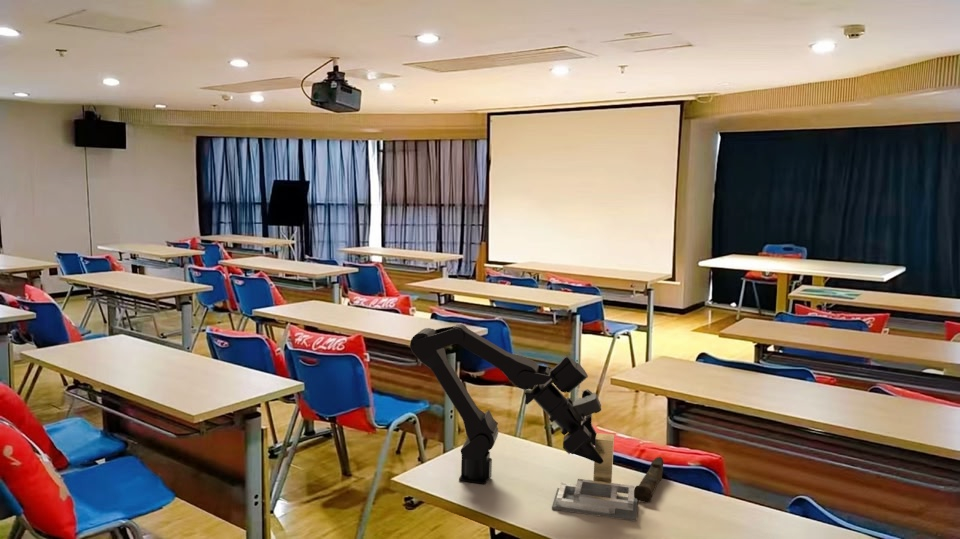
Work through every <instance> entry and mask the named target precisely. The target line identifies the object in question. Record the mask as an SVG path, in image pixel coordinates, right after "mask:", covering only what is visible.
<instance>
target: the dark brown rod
mask: <svg viewBox="0 0 960 539" xmlns="http://www.w3.org/2000/svg"><path fill="white" fill-rule="evenodd" d="M663 472H664V459H663V458H662V457H661V456H659V457H658V456H657V457H655V458H654V459H653V460H652V461H651V464H650V467H649V469H648V471H647V472H646V473H645V475H644V476H643V478H642V479H641V481H640V483H639V484H638V485H636V486H634V498H637V502H638V501H639V502H641V503H649V502H651V498H652V497H653V493H654V492H655V490H656V488H657V485H658V484H659V482H662V478H663Z"/></svg>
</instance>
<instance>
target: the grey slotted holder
mask: <svg viewBox="0 0 960 539" xmlns="http://www.w3.org/2000/svg"><path fill="white" fill-rule="evenodd" d="M558 488H559V492H558V495H557V498H556V507H563V508H570V509H577V510H585V511H592V512H599V513H606V514H613V515H615V508H618V509H626V510H633V505H634V489H635V485H629V484H621V483H616V482H612V483H608V482H600V481H593V480H592V479H585V478H584V479H583V478H577V480H576V484H575V483H574V484H572V483H567V482H566V483H565V482H561V483H560V486H559V487H558ZM565 492H570V493H574V498H573V500H571V499H564V496H565ZM618 493H620V494H626V495H627V497H628V500H621V499H616V498H617V496H618ZM583 494H585V495H583ZM591 495H592V496H591ZM598 496H600V497H598ZM606 497H607V498H606Z"/></svg>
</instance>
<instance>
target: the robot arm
mask: <svg viewBox="0 0 960 539" xmlns="http://www.w3.org/2000/svg"><path fill="white" fill-rule="evenodd" d="M409 343H410V344H409V348H410V350H411V352H412V354H413V355H414V356H415V357H416V358H417V359H418V360H419V361H420V362H421V364H423V365H425V367H427V368H429V369H430V370H431V372H432V373H433V374H434V376H435V378H436V380H437V381H438V382H439V384H440V386H441V388H442V390H444V392H445V394H446V395H447V397H448V399H449V400H450V401H451V403H452V405H453V406H454V408H455V410H456V411H457V413H458V415H459V416H460V417H461V419H462V422H463V424H464V425H463V426H464V430H465V432H466V436H467V438H466V440H465V441H464V444H463V445H462V447H461V449H460V454H461V466H460V468H461V470H460V476H459V478H458V481H460V482H467V483H475V484H479V485H481V484H482V485H485V484H486V483H487V481H488V480H489V479H490V478H491V476H492V471H493V470H492V469H493V459H492V458H491V456H490V455H491V454H490V453H491V452H490V450H492V449H493V447H494V445H495V443H496V441H497V439H498V435H499V428H498V425H499V422H498V421H496V420H495V419H494V417H493V414H492V412H491V410H489V409H488V410H486V411H485V412H484V411H482V410H481V409H480V408H479V407H478V406H477V404H476V402H475V401H474V399H473V398H472V395H471V394H470V393H469V392H468V390H467V388H466V387H465V385H464V383H463V382H462V380H461V379H460V377H459V376H458V374H457V373H456V371H455V370H454V367H453V366H452V364H451V363H450V361H449V360H448V357H447V354H446V350H445V348H447V347H450V346H453V345H458V346H460V347H462V348H464V349H465V350H467V351H469V352H470V353H472V354H473V355H475V356H477V357H479V358H480V359H483V360H484V361H485V362H487V363H489V364H490V365H492V366H494V367H495V368H497V369H498V370H500V371H501V372H502V373H503V374H504V375H505V377H506V378H507V379H508V380H509V381H510V382H512V383H513V384H514V385H515V386H516V388H517V387H518V389H521V390H524V396H525V400H524V404H525V405H529V404H530V403H531V402H533V400H534V402H535V403H536V404H537V405H538V406H539V407H540V408H541V409H542V411H544V412H545V413H546V414H547V415H548V420H549V422H551V423H553V422H554V423H555V424H556V425H557V426H558V427H559V428H560V433H561V434H562V435H563V441H562V448H563V450H564V451H565V452H566V453H567V454H568V455H570V454H571V455H576V456H579V457H582V458H584V459H587V460H589V461H592V462H593V463H594V462H596V463H599V464H601V463H603V459H602V457H601V456H600V454H599V453H598V451H597V450H596V448H595V439H596V434H597V433H598V432H597V431H596V430H595V428H594V426H593V424H592V418H593V417H592V414H598V413H600V412H601V411H602V404H601V402H600V400H599V396H598V394H597V393H596V392H592V391H591V390H589V389H588V388H587V389H585V390H582V392H581V397H578V399H575V400H573V399H572V398H571V397H566V396H565V395H564V394H565V393H569V394H570V393H571V392H572V391H573V390H575V389H576V388H578V386H580V384H582V383H583V382H584V381H585V380H586V379H587V378H588V377H589V376H588V373H587V372H586V370H585V369H584V367H582V365H581V364H580V363H579V362H577V361H575V360H574V359H573V358H571V357H570V356H569V355H565V356H564V357H562V359H561V361H559V363H558V364H556V365H555V366H554V367H552V366H546V365H541V364H538V363H537V362H536V361H534V360H533V359H530V358H527V357H525V356H523V355H519V354H516V353H514V354H513V353H511V352H509V351H506V350H505V349H503V348H502V347H499V346H498V345H496V344H495V343H493V342H491V341H489V340H488V339H486V338H484V337H483V336H481V335H480V334H477V333H476V332H474V331H472V329H469V328H468V327H467V326H466V325H464V324H462V323H459V324H456V325H453V326H447V327H441V328H436V329H434V328H430V327H426V328H423V329H421V330H420V331H418V332H417V333H416V334H415V335H413V336H412V337H411V339H410V342H409ZM563 393H564V394H563Z"/></svg>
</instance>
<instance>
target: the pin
mask: <svg viewBox="0 0 960 539" xmlns="http://www.w3.org/2000/svg"><path fill="white" fill-rule="evenodd" d="M596 433H597V434H596V439H595V446H594V447H595V448H596V450H597V451H598V453H599V454H600V456H601V457H602V459H603V463H601V464H599V463H596V462H594V461H593V463H594V464H593V480H592V481H600V482H608V483H613V482H612V481H613V480H612V479H613V465H614V464H613V462H614V442H615V434H612V433H611V434H610V433H600V432H596Z"/></svg>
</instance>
